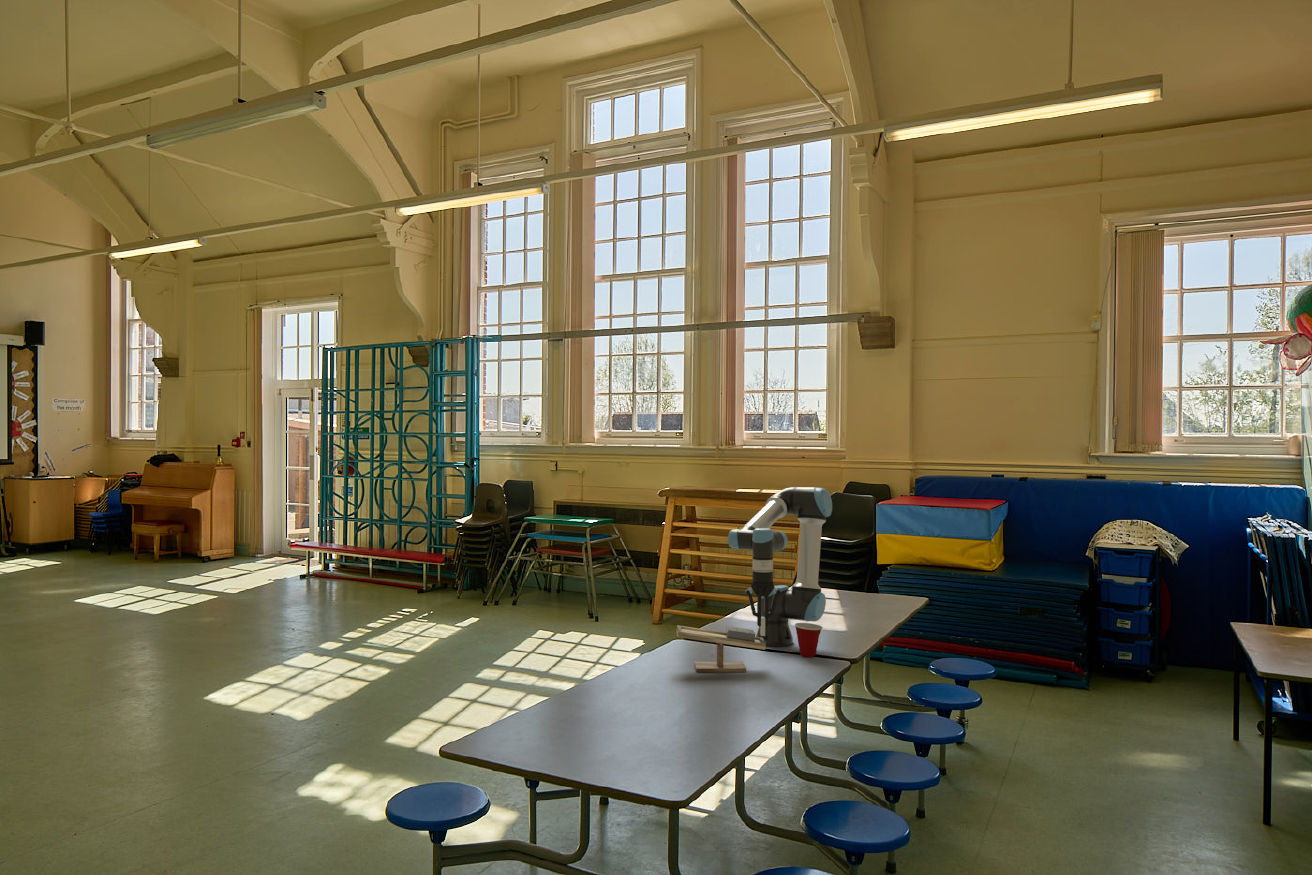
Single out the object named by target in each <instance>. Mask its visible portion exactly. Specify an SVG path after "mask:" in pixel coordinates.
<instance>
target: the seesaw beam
mask: <svg viewBox="0 0 1312 875" xmlns="http://www.w3.org/2000/svg"><path fill="white" fill-rule="evenodd" d="M675 632H676V637H677V638H681V639H689V640H695V641H703V642H708V643H709V642H710V643H716V644H717V643H719V644H720V646H722V645H723V646H724V645H731V646H737V647H745V648H751V649H757V650H764V651H765V650H766V647H767V646H766V642H765V641H764V639H763V638H761V637H756V636H755V641H754V642H752V641H745V640H739V639H732V638H726V636H725V632H726V631H725V632H724V631H719V630H718V631H717V630H712V629H711V630H710V629H704V628H699V627H698V628H697V627H691V626H684V625H678V624H677V626H676V631H675Z"/></svg>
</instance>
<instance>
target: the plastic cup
mask: <svg viewBox="0 0 1312 875" xmlns="http://www.w3.org/2000/svg"><path fill="white" fill-rule="evenodd" d="M794 627H795V631H796V635H797V636H796V637H797V642H798V648H799V654H800V656H801V657H802V656H803V658H814V656H815V657H816V655H817V649H818V643H819V638H820V635H821V632H822V629H823V628H824V627H823V626H822V625H819V624H815V623H811V622H796V623H794Z"/></svg>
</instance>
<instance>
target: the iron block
mask: <svg viewBox="0 0 1312 875" xmlns="http://www.w3.org/2000/svg"><path fill="white" fill-rule="evenodd" d="M725 636H726V638H732V639H739V640H745V641H752V642H754V641H755V637H756V633H755V630H754V629H751V628H750V629H749V628H743V627H737V626H729V625H726V626H725Z"/></svg>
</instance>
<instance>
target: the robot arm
mask: <svg viewBox="0 0 1312 875" xmlns="http://www.w3.org/2000/svg"><path fill="white" fill-rule="evenodd" d="M832 512H833V501H832V497H831V494H830V492H829V491H828V490H827V489H826V488H824V487H817V486H815V487H814V486H813V487H812V486H810V487H809V486H807V487H805V486H803V487H801V486H790V487H786V488H783V489H781V490H779V491H777V492H776V493H774V494H772V495H771V496H770V497H768V498H767V500H766V501H765V505H764V506H763V507H762V508H761V509H760V510H759V511H758V512H756V514H754V516H752V518H751V519H750V520H748V522H746V524H744V525H743V526H742V527H741V528H740V529H738V528H734V529H731V530H730V531H729V533H728V535H727V542H728V543H727V544H728V547H730V548H732V549H734V550H735V549H737V550H745V551H752V564H751V565H752V568H751V569H752V570H753V571H752V576H751V577H752V583H751V585H750V587H749V588H746V589H745V590H744V591H745V593H746V595H747V597H748V601H749V606H750V609H751V613H752V616H754V617H756V618H757V619H756V621H757V622H756V623H757V626H758V629H757V631H756V634H755V637H761V638H763V639H764V641H765V642H766V646H765V647H787V646H786V645H788V646H791V645H793V643H794V641H793V640H794V638H793V634H792V631H791V628H790V625H789V620H797V621H803V622H806V623H809V622H813V623H814V622H815V623H816V622H818V621H819V620H821V618H822V617H823V615H824V613H825V610H826V606H827V599H826V595H825V593H823V592H822V587H821V586H820V585H819V571H820V560H821V559H820V557H821V545H822V544H821V543H822V530H823V528H822V527H823V525H824V524H825V523H826V522H827V518H828V517H831V515H832ZM787 515H788V516H789V515H794V516H797V520H798V522H799V523H800V529H799V530H800V531H799V542H798V543H799V544H798V556H797V570H796V572H797V573H796V582H794V584H792V588H791V589H792V590H791V589H790V588H789V586H788V585H785V584H784V585H783V584H779V585H775V584H774V572H773V570H774V553H777V552H781V551H782V550H784V549H785V548H786V547H787V546H788V543H789V540H788V539H789V538H788V536H787V535H786V533H785V532H783V531H781V530H774V531H773V529H772V528H771V526H772V525H774V524H775V523H776V522H778V520H779V519H782V518H784V517H785V516H787ZM753 593H754V594H755V595H756V598H757V599H756V607H755V603H754V599H753V595H752V594H753ZM790 644H791V645H790Z"/></svg>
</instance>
